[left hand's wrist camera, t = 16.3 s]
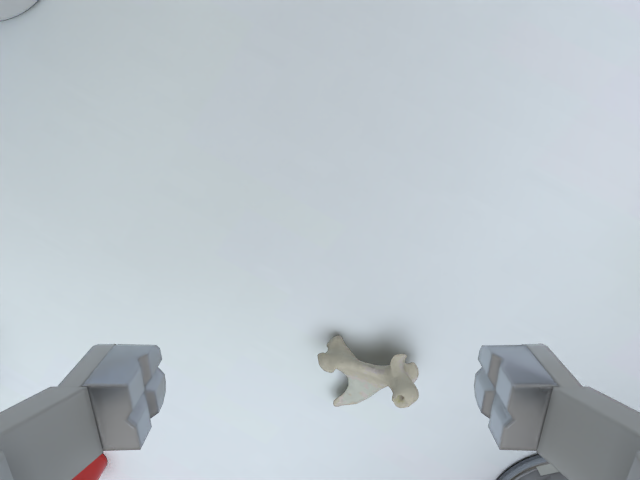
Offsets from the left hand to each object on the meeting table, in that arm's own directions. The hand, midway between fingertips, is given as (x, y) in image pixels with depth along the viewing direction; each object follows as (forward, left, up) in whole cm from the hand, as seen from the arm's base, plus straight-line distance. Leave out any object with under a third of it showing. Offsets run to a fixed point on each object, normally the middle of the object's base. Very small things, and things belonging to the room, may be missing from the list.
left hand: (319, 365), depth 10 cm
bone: (+16, -15, -28) cm, 35 cm away
